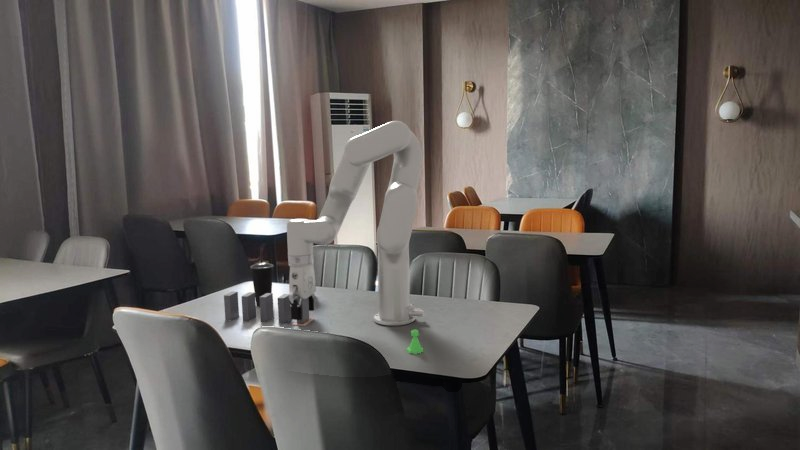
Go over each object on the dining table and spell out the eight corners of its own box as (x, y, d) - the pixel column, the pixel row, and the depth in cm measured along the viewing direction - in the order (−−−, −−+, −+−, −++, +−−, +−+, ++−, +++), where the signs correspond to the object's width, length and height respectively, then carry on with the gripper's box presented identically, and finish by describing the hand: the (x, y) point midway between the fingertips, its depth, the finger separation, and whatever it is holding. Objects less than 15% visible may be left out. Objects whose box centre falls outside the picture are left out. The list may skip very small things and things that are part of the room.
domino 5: (309, 319, 186) (308, 294, 185) (303, 324, 181) (302, 298, 180) (303, 319, 187) (302, 293, 186) (296, 323, 182) (295, 297, 181)
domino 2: (256, 317, 190) (255, 292, 189) (248, 321, 186) (247, 296, 184) (250, 316, 191) (249, 292, 190) (242, 321, 186) (241, 296, 185)
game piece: (403, 351, 157) (403, 329, 156) (414, 347, 160) (414, 325, 159) (415, 355, 154) (415, 332, 153) (426, 351, 157) (426, 328, 156)
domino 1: (239, 316, 192) (237, 291, 191) (231, 320, 187) (229, 295, 186) (233, 315, 192) (231, 291, 191) (225, 320, 187) (223, 295, 186)
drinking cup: (269, 308, 200) (266, 249, 197) (248, 307, 201) (245, 249, 199) (278, 302, 207) (276, 245, 205) (258, 301, 209) (255, 245, 206)
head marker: (313, 319, 187) (313, 318, 187) (305, 325, 180) (305, 325, 180) (301, 318, 188) (301, 317, 188) (292, 325, 181) (292, 324, 181)
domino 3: (273, 318, 189) (272, 293, 188) (266, 322, 184) (265, 297, 183) (267, 317, 189) (266, 293, 188) (260, 322, 185) (259, 297, 184)
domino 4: (291, 319, 188) (290, 294, 186) (284, 323, 183) (283, 298, 182) (285, 318, 188) (284, 293, 187) (278, 323, 183) (277, 297, 182)
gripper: (301, 265, 172) (303, 323, 175) (322, 254, 189) (324, 307, 191) (277, 265, 174) (279, 322, 176) (300, 254, 191) (302, 306, 193)
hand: (303, 314), depth 184 cm, fingers open, 9 cm apart
